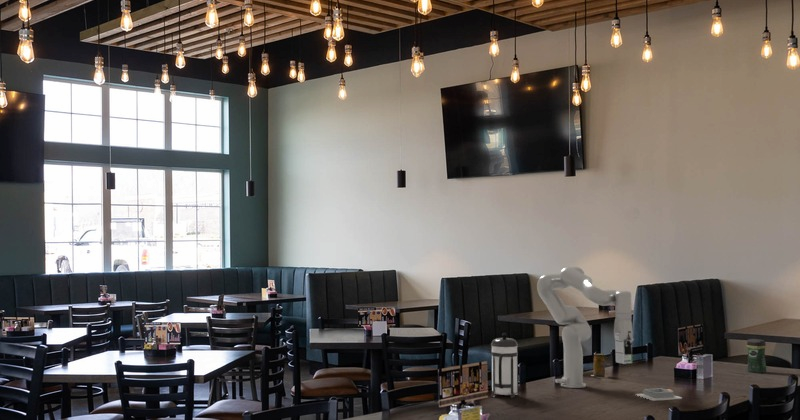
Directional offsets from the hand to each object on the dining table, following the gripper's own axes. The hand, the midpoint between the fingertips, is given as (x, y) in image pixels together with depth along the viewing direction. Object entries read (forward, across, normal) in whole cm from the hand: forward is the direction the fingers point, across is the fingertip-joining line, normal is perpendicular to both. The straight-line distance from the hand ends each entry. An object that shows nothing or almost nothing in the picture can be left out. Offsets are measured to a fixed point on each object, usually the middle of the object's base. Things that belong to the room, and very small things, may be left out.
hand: (623, 353), depth 398 cm
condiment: (+20, -48, +16) cm, 55 cm away
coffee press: (+20, -10, -58) cm, 62 cm away
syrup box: (+5, 0, 0) cm, 5 cm away
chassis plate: (+20, +12, +11) cm, 25 cm away
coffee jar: (+20, -36, +108) cm, 116 cm away
